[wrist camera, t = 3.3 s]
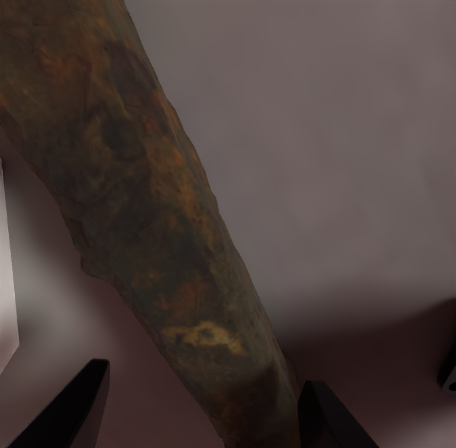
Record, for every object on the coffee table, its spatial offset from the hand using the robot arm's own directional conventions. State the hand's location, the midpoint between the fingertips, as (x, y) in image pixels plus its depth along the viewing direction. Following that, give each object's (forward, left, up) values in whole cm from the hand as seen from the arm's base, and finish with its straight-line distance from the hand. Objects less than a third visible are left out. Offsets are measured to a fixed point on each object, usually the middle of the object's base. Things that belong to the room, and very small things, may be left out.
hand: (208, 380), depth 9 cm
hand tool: (-1, -1, -4) cm, 4 cm away
